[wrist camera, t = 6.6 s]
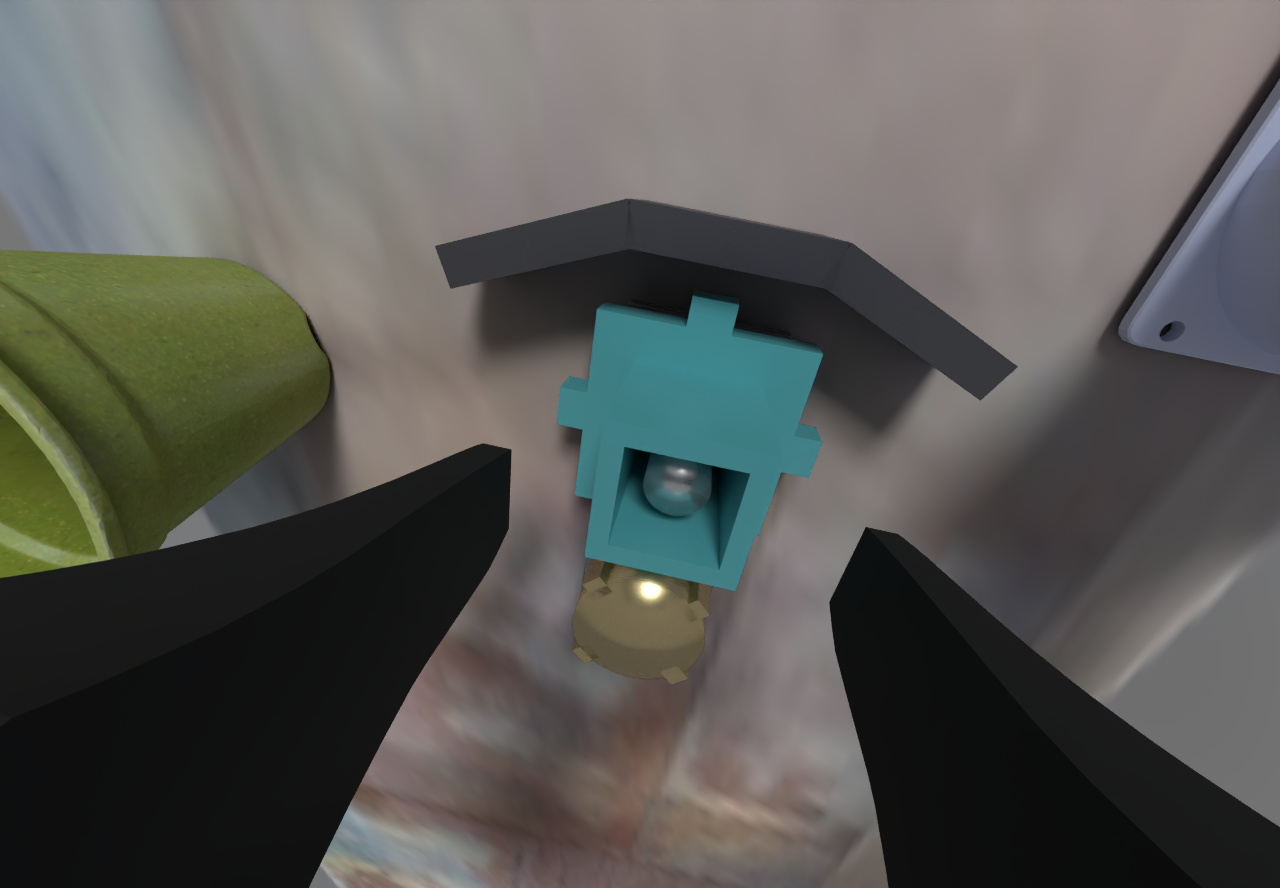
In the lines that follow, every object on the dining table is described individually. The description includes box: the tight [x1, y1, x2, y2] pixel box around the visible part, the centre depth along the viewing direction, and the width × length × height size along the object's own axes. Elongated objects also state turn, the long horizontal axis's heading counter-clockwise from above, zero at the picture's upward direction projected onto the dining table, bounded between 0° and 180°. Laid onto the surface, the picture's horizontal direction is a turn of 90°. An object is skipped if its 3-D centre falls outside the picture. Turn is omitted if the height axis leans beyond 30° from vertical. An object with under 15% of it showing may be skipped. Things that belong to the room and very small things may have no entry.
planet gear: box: [557, 290, 823, 591], centre depth 12 cm, size 8×8×5 cm
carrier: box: [435, 199, 1017, 684], centre depth 14 cm, size 14×15×5 cm
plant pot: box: [0, 250, 330, 578], centre depth 13 cm, size 9×9×9 cm
